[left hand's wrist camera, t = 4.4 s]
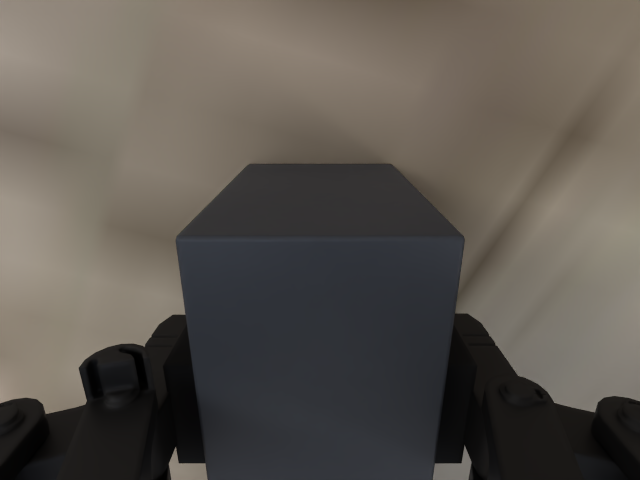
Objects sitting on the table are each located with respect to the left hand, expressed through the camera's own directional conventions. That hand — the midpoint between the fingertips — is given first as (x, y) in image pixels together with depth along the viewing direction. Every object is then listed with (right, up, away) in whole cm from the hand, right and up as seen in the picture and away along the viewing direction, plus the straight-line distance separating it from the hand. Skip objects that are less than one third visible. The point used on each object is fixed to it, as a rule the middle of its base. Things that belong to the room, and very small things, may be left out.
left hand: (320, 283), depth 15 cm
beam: (0, -22, +9) cm, 24 cm away
